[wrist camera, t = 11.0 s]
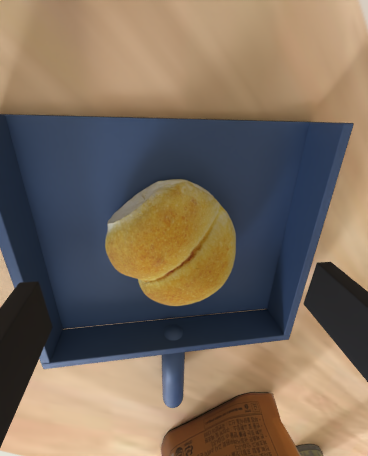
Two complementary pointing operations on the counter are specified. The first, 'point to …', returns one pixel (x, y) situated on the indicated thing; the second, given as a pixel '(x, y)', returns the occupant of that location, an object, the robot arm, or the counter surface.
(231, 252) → the bread roll
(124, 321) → the scoop
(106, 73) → the counter surface
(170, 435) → the pancake mix bag
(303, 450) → the thermos
